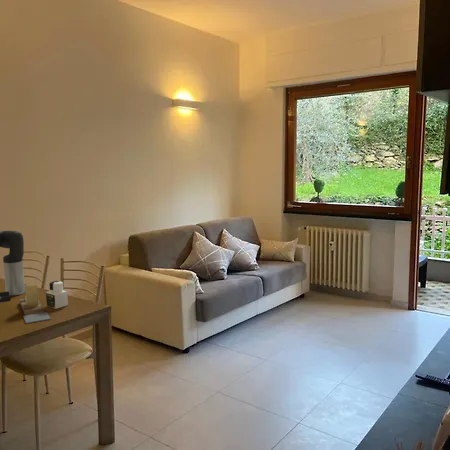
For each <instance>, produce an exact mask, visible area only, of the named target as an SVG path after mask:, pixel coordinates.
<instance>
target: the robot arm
mask: <svg viewBox="0 0 450 450" xmlns="http://www.w3.org/2000/svg"><path fill="white" fill-rule="evenodd" d="M24 247H25V245H24V236H23V234H22V233H21V232H20V231H17V230H0V248H4V249H9V251H8V252H9V253H8V254H7V255H4V256H3V257H2V259H3V261H2V262H3V272H4V286H5V291H1V292H0V304H2V303H6V302H11V300H12V298H11V296H19V295H23V294H25V289H24V284H25V274H24V261H23V258H24V253H25V248H24Z"/></svg>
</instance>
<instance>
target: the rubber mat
mask: <svg viewBox="0 0 450 450" xmlns="http://www.w3.org/2000/svg"><path fill="white" fill-rule="evenodd" d="M22 317H23V320H24V322H25V324H32V323H40V322H46V321H51V317H50V315H49V314H48V311H44V312H42V313H36V314H30V315H23V316H22Z"/></svg>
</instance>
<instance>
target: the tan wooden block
mask: <svg viewBox="0 0 450 450" xmlns="http://www.w3.org/2000/svg"><path fill="white" fill-rule="evenodd" d="M24 289H25V293H24V299H25V303H26V307H27V308H29V307H35V306H39V305H38V299H39V293H38V285H37V282H31V283H24Z"/></svg>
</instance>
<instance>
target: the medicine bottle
mask: <svg viewBox="0 0 450 450" xmlns="http://www.w3.org/2000/svg"><path fill="white" fill-rule="evenodd" d="M48 285H49V291H46V292H45V297H46V307H48V308H52V309H53V310H57V309H59V308H65V307H67V306H69V301H68V300H69V299H68V296H69V295H68V291H67V290H64V282H63V281H61V280H53V281H51V282H50V283H48Z"/></svg>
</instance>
